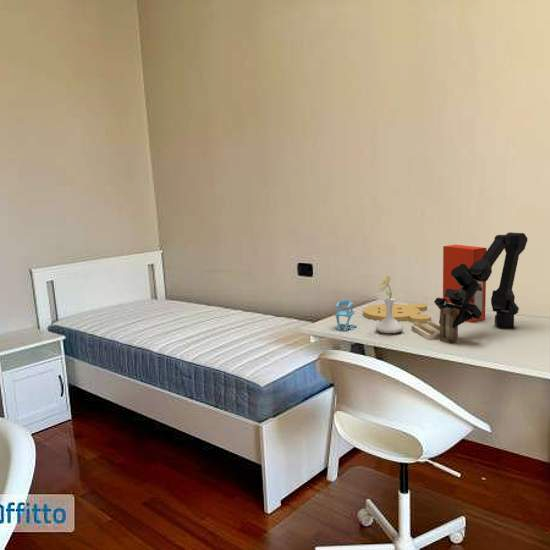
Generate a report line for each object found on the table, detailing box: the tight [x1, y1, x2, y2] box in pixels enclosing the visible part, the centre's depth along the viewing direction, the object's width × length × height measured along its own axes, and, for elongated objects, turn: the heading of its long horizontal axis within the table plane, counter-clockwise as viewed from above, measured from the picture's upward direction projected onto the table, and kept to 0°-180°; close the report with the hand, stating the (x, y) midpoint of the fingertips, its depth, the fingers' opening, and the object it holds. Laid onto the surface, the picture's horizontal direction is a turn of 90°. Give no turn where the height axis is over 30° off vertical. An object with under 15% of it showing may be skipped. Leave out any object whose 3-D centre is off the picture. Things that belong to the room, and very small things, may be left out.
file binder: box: [442, 244, 488, 324], centre depth 233 cm, size 8×17×32 cm, turn 27°
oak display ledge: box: [411, 320, 440, 341], centre depth 212 cm, size 9×15×3 cm, turn 11°
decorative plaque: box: [362, 302, 432, 325], centre depth 246 cm, size 31×3×30 cm
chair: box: [334, 299, 357, 332], centre depth 224 cm, size 8×8×12 cm
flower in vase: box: [375, 273, 404, 334], centre depth 215 cm, size 13×11×25 cm
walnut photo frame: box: [439, 308, 459, 345], centre depth 201 cm, size 3×6×12 cm, turn 31°
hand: (446, 325), depth 200 cm, fingers closed on walnut photo frame, 6 cm apart
